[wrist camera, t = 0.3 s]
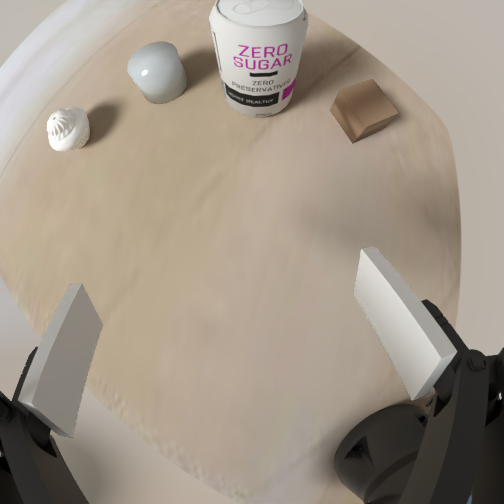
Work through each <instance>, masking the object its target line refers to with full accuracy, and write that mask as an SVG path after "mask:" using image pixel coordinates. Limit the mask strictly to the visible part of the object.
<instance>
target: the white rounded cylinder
mask: <svg viewBox="0 0 504 504" xmlns="http://www.w3.org/2000/svg"><path fill="white" fill-rule="evenodd" d="M127 69H128V73H129V74H130V76H131V77H132V79H133V80H134V82H135V83H136V85H137V86H138V88H139V89H140V91H141V92H142V93H143V95H144V96H145V98H146V99H147V100H148V101H149V102H151V103H154V104H164V103H168V102H171V101H173V100H175V99H176V98H178V97H179V96H180V95H181V94H182V93H183V92H184V90H185V89H186V86H187V81H188V80H187V76H186V73H185V71H184V68H183V65H182V63H181V60H180V57H179V55H178V52H177V49H176V48H175V46H174V45H173V44H171V43H168V42H155V43H151V44H148V45H146V46H144V47H142V48H141V49H139V50H138V51H137V52H136V53H135V54H134V55H133V56H132V57H131V59H130V61H129V63H128V67H127Z"/></svg>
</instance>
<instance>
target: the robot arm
mask: <svg viewBox="0 0 504 504" xmlns="http://www.w3.org/2000/svg"><path fill="white" fill-rule="evenodd" d="M353 294H354V296H355V298H356V299H357V301H358V303H359V305H360V306H361V308H362V310H363V311H364V313H365V315H366V316H367V318H368V320H369V322H370V323H371V325H372V327H373V329H374V330H375V332H376V334H377V336H378V337H379V339H380V341H381V343H382V345H383V346H384V348H385V350H386V352H387V354H388V356H389V357H390V359H391V361H392V363H393V365H394V367H395V369H396V371H397V373H398V374H399V376H400V378H401V380H402V382H403V384H404V386H405V388H406V390H407V392H408V394H409V396H410V398H411V400H412V401H413V400H416V399H418V398H420V397H422V396H425V395H427V394H428V393H429V391H430V390H431V389H432V387H434V388H435V390H436V392H435V394H434V395H433V396H432V397H431V399H430V400H429V401H428V403H427V405H426V406H427V407H428V406H429V405H430V404H431V403H432V406H431V410H430V414H429V416H428V415H427V414H426V413H425V412H424V411H423V410H421V409H420V408H418V407H416V406H413V405H397V406H393V407H389V408H386V409H384V410H381V411H379V412H377V413H375V414H373V415H371V416H370V417H368V418H367V419H365V420H364V421H362V422H361V423H360V424H358V425H357V426H356V427H355V428H354V429H353V430H352V431H351V432H350V433H349V434H348V435H347V436H346V437H345V438H344V440H343V441H342V442H341V444H340V446H339V447H338V449H337V452H336V455H335V459H334V466H335V469H336V472H337V475H338V477H339V479H340V481H341V482H342V483H343V484H344V485H345V486H346V487H347V488H348V489H349V490H351V491H352V492H353V493H354V494H355V495H357V496H358V497H359V498H360V499H362V500H363V502H364V504H504V348H503V349H502V350H501V352H500V353H499V354H498V355H492V356H485V355H484V354H483V353H481V352H480V351H478V350H473V349H471V350H469V349H468V348H467V346H466V345H465V344H464V342H463V341H462V339H461V338H460V337H459V335H458V334H457V333H456V331H455V330H454V328H453V327H452V326H451V324H450V323H448V320H447V319H446V318H445V317H443V314H442V313H441V311H440V310H439V309H438V308H437V306H435V305H434V304H433V303H431V302H430V301H428V300H427V299H426V300H423V301H420V300H419V298H418V297H417V296H416V294H415V293H414V292H413V291H412V289H411V288H410V287H409V286H408V284H407V283H406V282H405V281H404V280H403V278H402V277H401V276H400V275H399V274H398V272H397V271H396V270H395V269H394V268H393V266H392V265H391V264H390V263H389V262H388V261H387V259H386V258H385V257H384V256H383V255H382V254H381V253H380V251H379V250H378V249H377V248H376V247H369V248H362V249H361V254H360V260H359V266H358V272H357V277H356V283H355V288H354V293H353ZM102 326H103V323H102V322H101V320H100V318H99V316H98V314H97V312H96V310H95V308H94V306H93V304H92V302H91V300H90V298H89V296H88V294H87V292H86V290H85V288H84V286H83V284H82V283H79V284H70V286H69V287H68V289H67V291H66V293H65V295H64V296H63V298H62V300H61V302H60V304H59V306H58V308H57V310H56V311H55V313H54V315H53V317H52V319H51V321H50V323H49V325H48V327H47V330H46V332H45V334H44V336H43V338H42V340H41V343H40V345H39V347H36V348H35V349H34V350H33V351H32V353H31V354H30V355H29V357H28V360H27V362H26V364H25V365H26V366H25V367H24V369H23V372H22V373H23V374H21V377H20V379H19V382H18V384H17V387H16V390H15V393H14V396H13V398H12V401H10V400H9V399H8V398H7V397H6V396H5V395H4V394H3V393H2V392H1V391H0V452H1V457H0V504H89V503H88V501H87V500H86V498H85V496H84V495H83V493H82V491H81V490H80V488H79V487H78V485H77V483H76V481H75V480H74V478H73V476H72V474H71V472H70V471H69V469H68V467H67V465H66V463H65V461H64V459H63V457H62V455H61V453H60V451H59V449H58V447H57V445H56V442H55V440H54V438H53V437H52V436H51V435H50V431H51V430H53V431H54V432H55V433H57V434H58V435H60V436H64V437H69V438H73V435H74V430H75V425H76V420H77V416H78V411H79V406H80V402H81V398H82V394H83V390H84V386H85V382H86V379H87V375H88V371H89V368H90V364H91V361H92V358H93V354H94V351H95V348H96V345H97V342H98V338H99V335H100V332H101V329H102ZM500 392H501V397H502V399H501V400H500V399H499V393H500Z"/></svg>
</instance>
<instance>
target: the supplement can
mask: <svg viewBox="0 0 504 504" xmlns="http://www.w3.org/2000/svg"><path fill="white" fill-rule="evenodd" d="M209 20H210V25H211V31H212V36H213V41H214V46H215V52H216V57H217V62H218V67H219V73H220V78H221V83H222V89H223V93H224V97H225V101H226V102H227V103H228V104H229V106H230V107H231V108H232V109H233V110H235V111H237V112H238V113H240V114H242V115H246V116H250V117H268V116H270V115H273V114H276V113H279V112H280V111H281V110H282V109H284V108H285V107H286V106H287V105H288V103H289V101H290V99H291V97H292V93H293V89H294V84H295V80H296V76H297V71H298V67H299V62H300V58H301V54H302V49H303V45H304V40H305V36H306V31H307V27H308V14H307V12H306V11H305V9H304V7H303V2H302V1H301V0H216V3H215V5H214V7H213V8H212V11H211V14H210V17H209Z"/></svg>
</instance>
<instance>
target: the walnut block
mask: <svg viewBox="0 0 504 504" xmlns="http://www.w3.org/2000/svg"><path fill="white" fill-rule="evenodd" d="M330 111H331V113H332V114H333V116H334V117H335V118H336V120H337V121H338V123H339V124H340V126H341V127H342V129H343V130H344V131H345V133H346V134H347V136H348V137H349V139H350V140H351V142H352V144H353V143H355V142H357V141H359V140H361V139H363V138H366V137H368V136H370V135H372V134H374V133H377V132H379V131H381V130H383V129H384V127H385V126H386V125H387V124H388V123H389V122H390V121H391V120H392V119H393V118H394V117H395V116H396V115H397V114H398V112H397V110H396V109H395V107H394V106H393V105H392V103H391V102H390V100H389V99H388V98H387V96H386V95H385V94H384V92H383V91H382V90H381V89H380V87H379V86H378V85H377V83H376V82H375V81H374V80H373V79H371V80H368V81H365V82H361V83H358V84H355V85H352V86H349V87H346V88H344V89H341V90H340V91H339V93H338V95H337V97H336V99H335V101H334V103H333V105H332V107H331V109H330Z"/></svg>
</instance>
